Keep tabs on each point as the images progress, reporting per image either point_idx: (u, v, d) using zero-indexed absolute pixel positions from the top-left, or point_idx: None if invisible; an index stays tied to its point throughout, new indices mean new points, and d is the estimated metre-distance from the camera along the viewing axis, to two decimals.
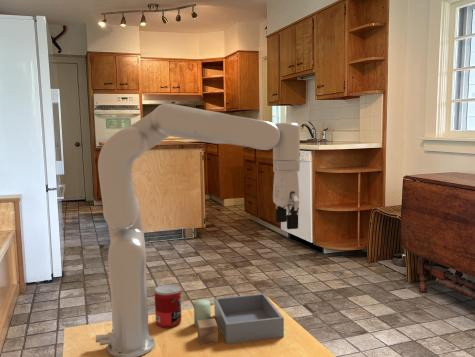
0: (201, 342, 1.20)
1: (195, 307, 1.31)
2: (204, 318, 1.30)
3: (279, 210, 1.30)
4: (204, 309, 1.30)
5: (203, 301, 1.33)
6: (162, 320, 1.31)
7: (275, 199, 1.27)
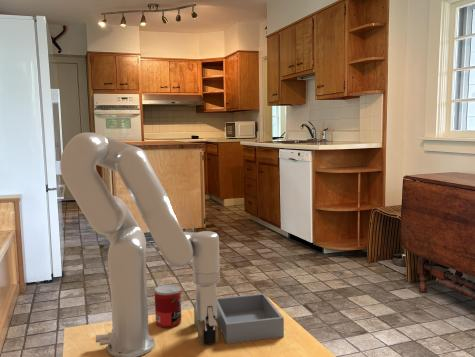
0: (201, 342, 1.20)
1: (195, 307, 1.31)
2: None
3: None
4: None
5: None
6: (162, 320, 1.31)
7: (196, 308, 1.24)
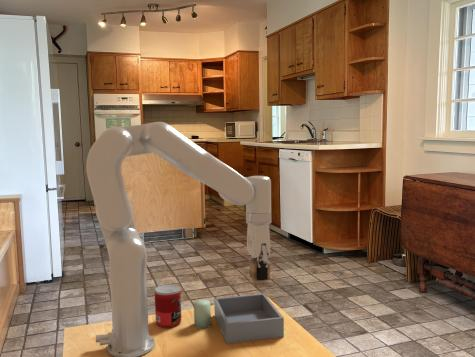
0: (254, 278, 1.28)
1: (195, 307, 1.31)
2: (204, 318, 1.30)
3: None
4: (204, 309, 1.30)
5: (203, 301, 1.33)
6: (162, 320, 1.31)
7: (248, 249, 1.32)
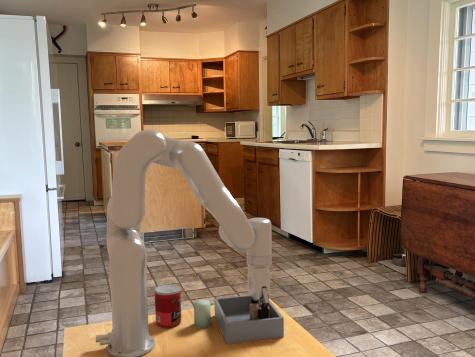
0: None
1: (195, 307, 1.31)
2: (204, 318, 1.30)
3: (254, 301, 1.35)
4: (204, 309, 1.30)
5: (203, 301, 1.33)
6: (162, 320, 1.31)
7: (249, 289, 1.33)
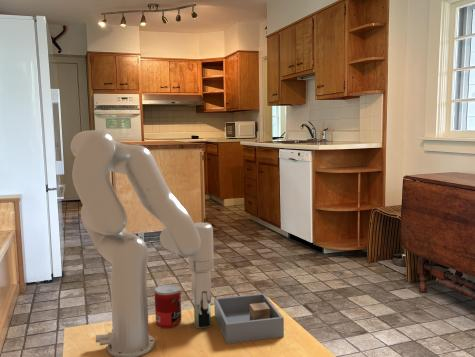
0: None
1: (195, 307, 1.31)
2: None
3: None
4: None
5: None
6: (162, 320, 1.31)
7: None
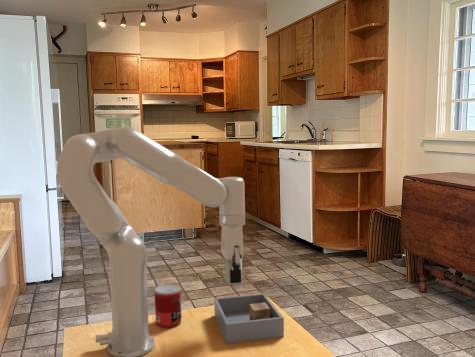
0: None
1: (226, 263, 1.27)
2: None
3: None
4: None
5: (234, 258, 1.30)
6: (162, 320, 1.31)
7: (222, 251, 1.30)
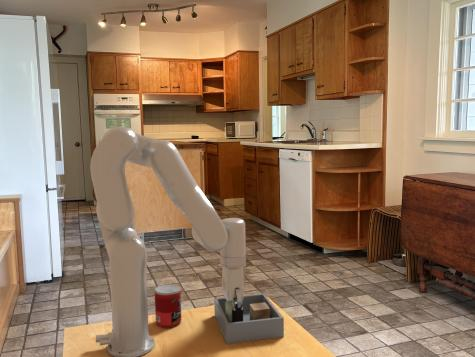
0: None
1: (227, 307, 1.29)
2: None
3: None
4: None
5: None
6: (162, 320, 1.31)
7: (223, 291, 1.31)
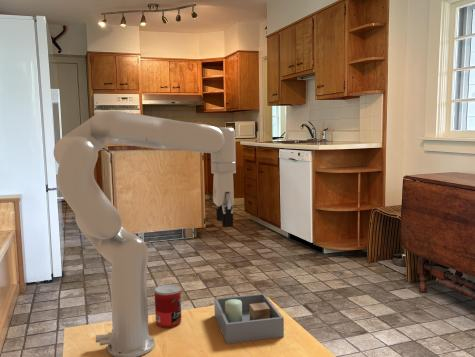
0: None
1: (227, 307, 1.29)
2: (236, 318, 1.28)
3: (219, 209, 1.38)
4: (236, 309, 1.28)
5: (234, 301, 1.31)
6: (162, 320, 1.31)
7: (214, 199, 1.35)
